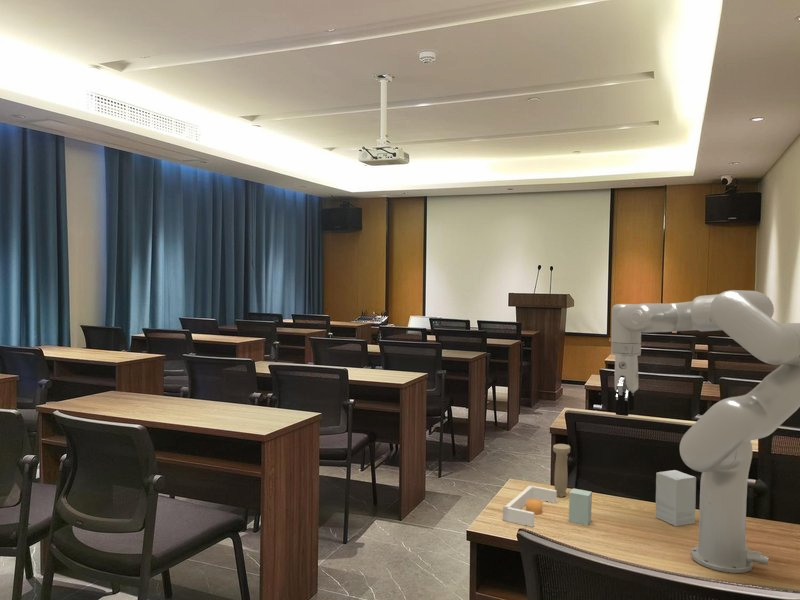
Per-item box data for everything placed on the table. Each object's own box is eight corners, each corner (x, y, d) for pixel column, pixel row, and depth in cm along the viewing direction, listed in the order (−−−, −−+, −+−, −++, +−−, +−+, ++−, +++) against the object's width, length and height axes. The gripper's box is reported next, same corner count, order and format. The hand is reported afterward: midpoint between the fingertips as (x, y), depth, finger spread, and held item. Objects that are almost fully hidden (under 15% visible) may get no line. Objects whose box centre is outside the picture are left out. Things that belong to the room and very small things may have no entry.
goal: (556, 502, 176) (556, 490, 176) (532, 527, 157) (533, 513, 157) (529, 496, 180) (529, 485, 180) (503, 520, 161) (503, 507, 161)
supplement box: (696, 523, 162) (697, 477, 162) (675, 527, 159) (676, 479, 159) (674, 513, 169) (675, 469, 169) (654, 517, 166) (655, 471, 166)
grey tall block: (591, 521, 162) (591, 491, 162) (587, 525, 159) (588, 495, 159) (572, 517, 165) (573, 488, 165) (568, 521, 161) (569, 492, 161)
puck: (544, 511, 169) (544, 500, 169) (539, 516, 165) (539, 505, 165) (529, 508, 171) (529, 497, 171) (523, 512, 168) (524, 502, 167)
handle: (570, 494, 184) (572, 445, 184) (566, 500, 178) (567, 450, 178) (555, 491, 186) (556, 443, 186) (549, 497, 180) (551, 447, 180)
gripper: (635, 352, 153) (635, 419, 153) (645, 347, 168) (644, 408, 168) (605, 350, 157) (604, 416, 157) (617, 346, 172) (616, 406, 172)
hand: (625, 412), depth 162 cm, fingers open, 9 cm apart
